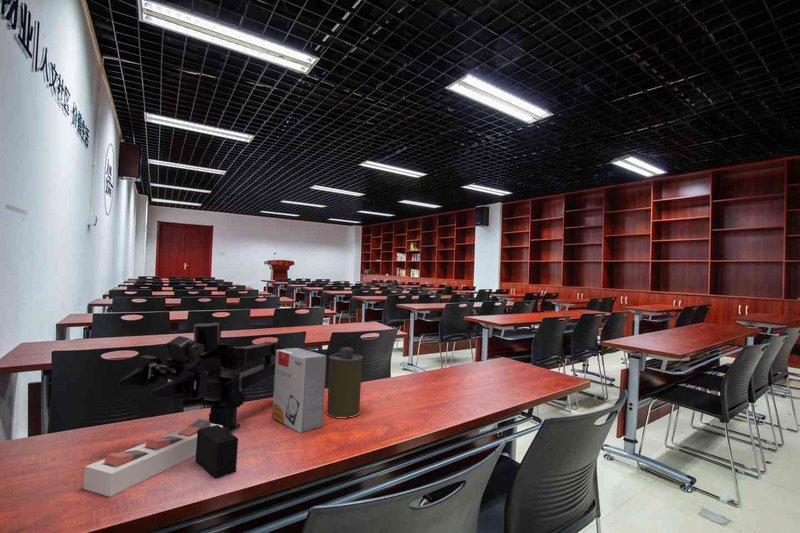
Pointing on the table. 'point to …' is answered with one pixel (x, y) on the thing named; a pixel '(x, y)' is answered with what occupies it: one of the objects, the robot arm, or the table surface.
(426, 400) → the table surface
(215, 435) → the black cubic block
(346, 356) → the canister
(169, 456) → the rocker switch panel
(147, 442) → the rocker
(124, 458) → the rocker
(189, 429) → the rocker
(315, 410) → the hard drive box
